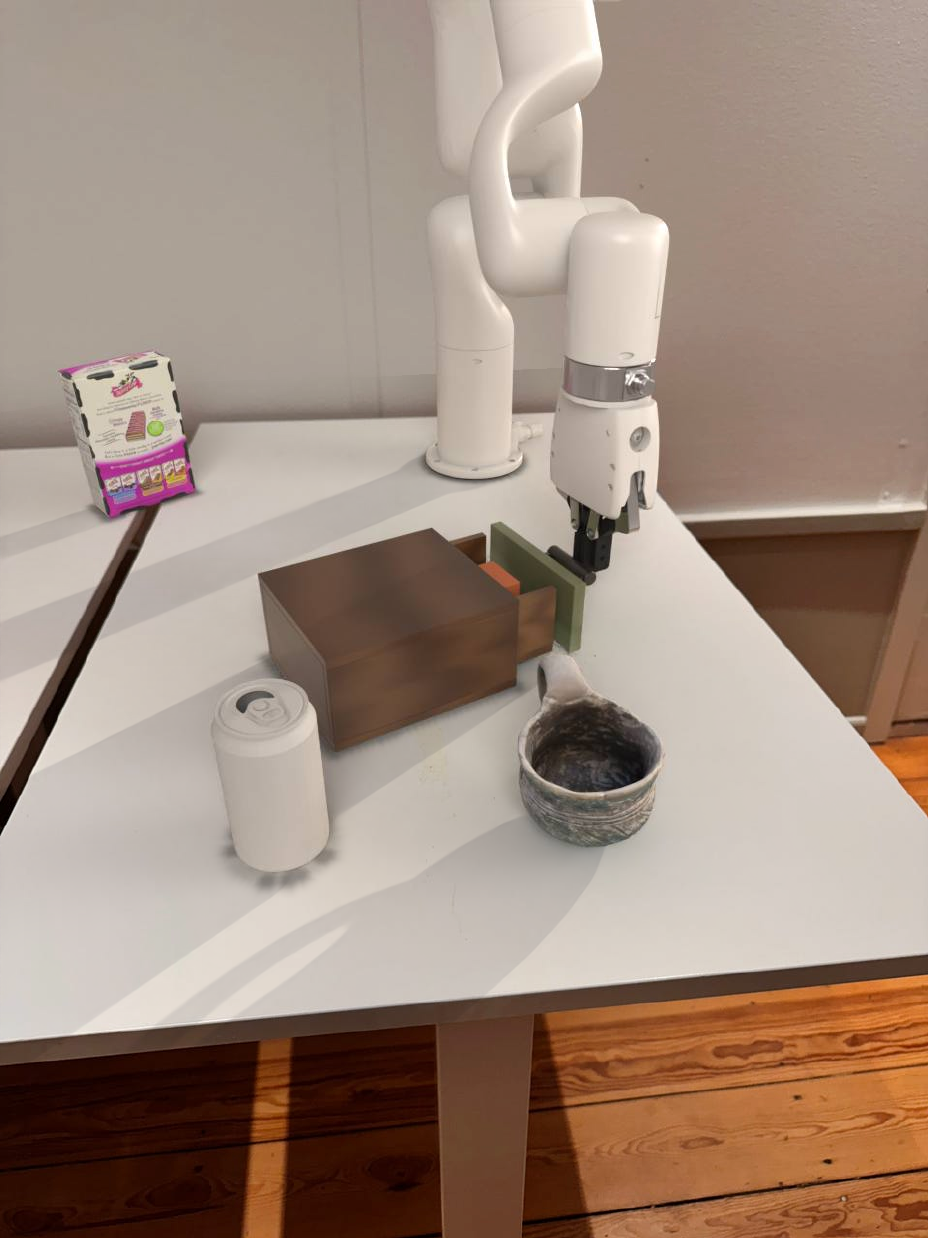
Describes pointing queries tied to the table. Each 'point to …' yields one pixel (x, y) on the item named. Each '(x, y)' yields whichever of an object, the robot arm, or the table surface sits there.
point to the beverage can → (271, 774)
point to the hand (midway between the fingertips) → (590, 568)
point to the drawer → (537, 588)
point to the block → (502, 577)
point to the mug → (586, 761)
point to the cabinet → (390, 633)
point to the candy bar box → (129, 431)
